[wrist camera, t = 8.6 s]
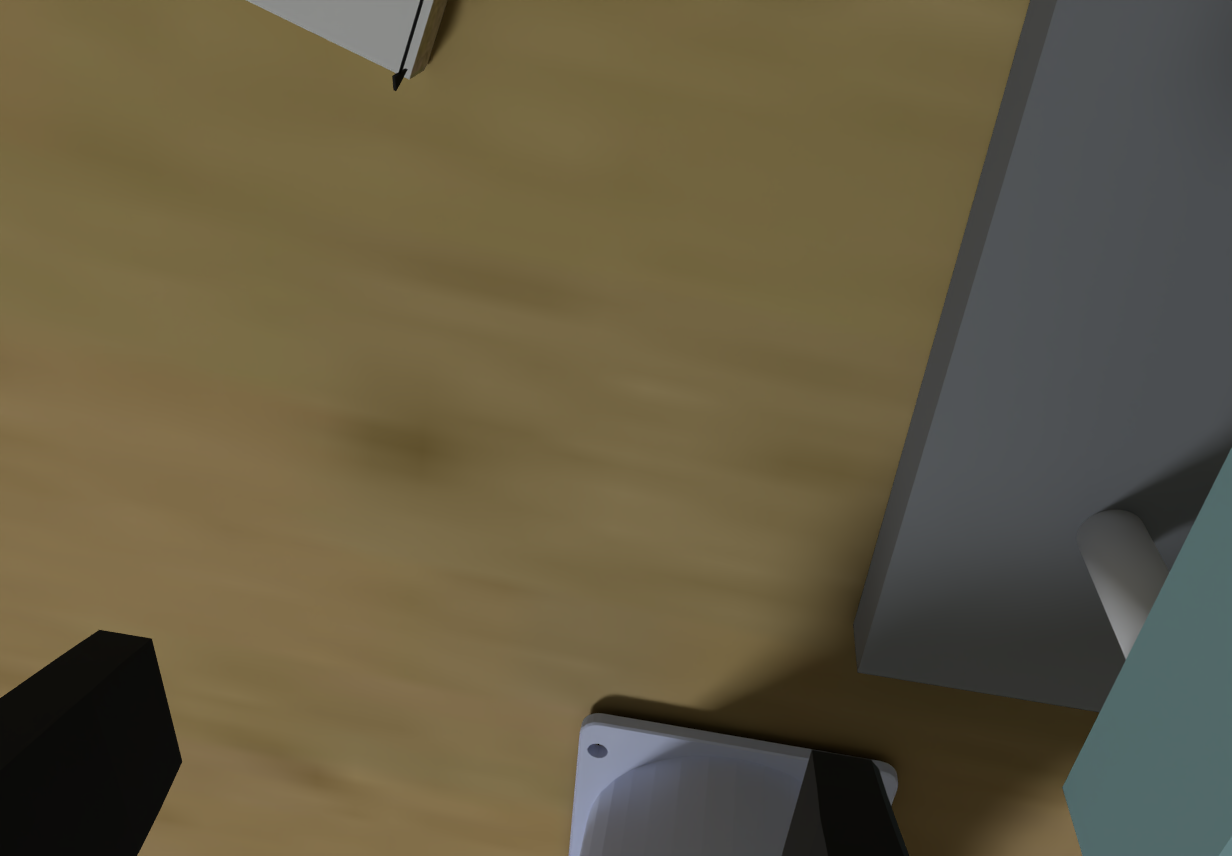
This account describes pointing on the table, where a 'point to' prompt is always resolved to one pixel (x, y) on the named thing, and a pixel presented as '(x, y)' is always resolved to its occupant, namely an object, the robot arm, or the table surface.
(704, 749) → the robot arm
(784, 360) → the table surface
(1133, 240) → the peg stand
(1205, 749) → the teal rectangular block
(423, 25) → the white ridged flat slab
